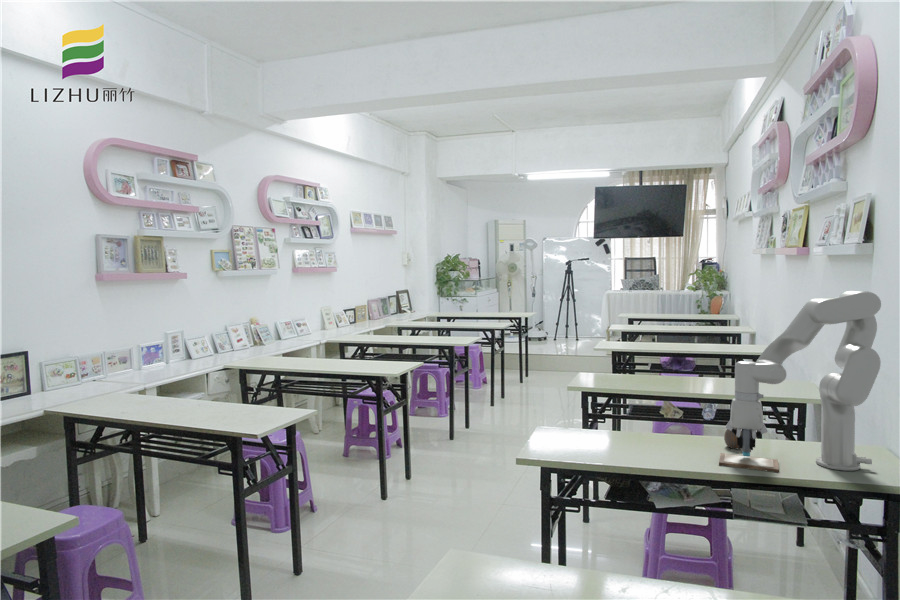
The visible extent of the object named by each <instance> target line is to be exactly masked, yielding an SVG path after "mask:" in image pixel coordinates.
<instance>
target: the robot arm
mask: <svg viewBox="0 0 900 600" xmlns="http://www.w3.org/2000/svg"><path fill="white" fill-rule="evenodd" d="M881 308H882V300H881V298H880V297H879V296H878V295H877V294H875V293H874V292H872V291H869V290H848V291H844V292H843V293H841V294H840V295H839V296H837V297H833V298H832V297H831V298H817V297H816V298H811V299H810V300H808V301H807V302H806V303H805V304H804V305H803V306H802V308H801V309H800V310H799V312H798V313H797V314H796V315H795V317H794V318H793V319H792V321H791V322H790V324H789V325H788V326H787V327H786V329H785V330H784V331H783V332H782V333H781V334H780V335H778V336H777V337H776V338H775V339H774V340H773V341H772V342H771V343H770V344H769V345H768V346H767V347H766V348H765V349H764V350H763V352H762V353H761V354H760V356H759V357H758V359H756V361H753V360H752V361H751V360H750V361H749V360H740V361H739V360H738V361H737V362H735V365H734V398H732V399H731V404H730V405H731V406H730V417H729V418H730V419H729V421H728V422H727V424H726V425H725V428H726V430H727V429H728V430H730V431H732V432H733V433H734V434H735V435H736V436H737V446H739V450H741V449H742V436H741V434H740V433H741V431H742V429H747V430H751V451H753V450H754V448H756V439H758V437H759V436H761V435H764V434H766V433H768V428H767V427H766V425H765V424H764V416H763V405H762V401H761V400H760V399H764V394H761V393H759V392H760V390H759V389H760V384H761V383H762V384H768V385H779V384H781V383H784V381H785V380H786V378H787V371H786V368H784V366H783V365H782V364H783V363H784V362H785V361H786V360H787V359H788V358H789V357H790V356H792V355H793V354H794V353H795V354H796V352H799V351H802V350H804V349H806V348H808V347H809V345H811V343H812V342H813V341H814V339H815V338H816V336H817V335H818V334H819V332H820V331H821V330H822V329H823V327H824V326H825V325H837V324H843V323H845V324H846V326H845V331H844V334H843V336H842V338H841V340H840V343H839V345H838V347H837V349H836V352H835V354H834V361H835V365H836V366H837V367H838V368H840V369H842V370H843V371H842V372H830V373H828V374H826V375H824V376H823V377H822V378H821V379H820V382H819V386H818V387H819V388H818V391H819V397H820V405H821V419H820V420H821V421H820V422H821V428H820V429H821V430H820V431H821V432H820V433H821V436H820V437H821V438H820V440H821V445H820V446H821V447H820V449H821V450H820V452H821V453H820V456H819V457H816V458H815V464H817V465H818V466H821V467H824V468H827V469H832V470H837V471H846V472H847V471H848V472H849V471H858V470H860V469H861V464H864V465H870V466H871V465H872V464H873V459H872V458H868V457H866V456H859V455H857V454H856V452H855V451H856V450H855V449H856V448H855V446H856V445H855V441H856V436H855V435H856V431H855V430H856V412H855V411H856V409H855V407H857V406H858V407H859V406H860V405H862V404H864V403H865V401H866V400H867V399H868V397H869V395H870V394H871V391H872V389H873V386H874V384H875V382H876V379H877V378H878V377H877V376H878V375H879V372H880V369H881V362H882V361H881V357H880V354H879V353H878V352H877V351H876V350H875V349H873V348H872V346H873V344H874V342H875V338H876V336H877V332H878V322H877V319H876V316H875V315H876V314H878V313H879V311H881ZM731 426H732V427H731ZM735 428H737V430H736V429H735Z"/></svg>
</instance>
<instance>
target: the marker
mask: <svg viewBox="0 0 900 600" xmlns="http://www.w3.org/2000/svg"><path fill="white" fill-rule="evenodd" d="M741 431H742V449H740V451H741V452H742V453H741V454H742V456H751V453H752V450H751V436H752V430H747V429H741Z"/></svg>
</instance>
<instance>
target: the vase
mask: <svg viewBox="0 0 900 600" xmlns="http://www.w3.org/2000/svg"><path fill="white" fill-rule="evenodd" d="M731 427H732V426H731ZM735 429H736V430H737V428H735ZM723 434H724V437H723V438H724V443H725V445H726V446H727V448H729V447H731V448H730V449H733V448H739V446H737V436H736V435H735V434H734V433H733V432H732V431H730V430H728V429H727V428H726V430H725V432H724V433H723ZM740 434H741V436H742V430H741V433H740Z"/></svg>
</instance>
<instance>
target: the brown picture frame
mask: <svg viewBox="0 0 900 600" xmlns="http://www.w3.org/2000/svg"><path fill="white" fill-rule="evenodd" d="M722 465H725V466H724V467H730V466H733V467H732V468H738V467H739V469H746V468H749V469H748V470H754V469H758V470H757V471H762V470H767V471H766V472H770V471H774V472H773V473H778V472H780V467H779V459H778V458H777V459H774V458H769V457H767V458H765V457H757V456H751V455H750V456H743V455H740V454H733V453H724V452H723V453H722V452H720V455H719V460H718V466H722Z"/></svg>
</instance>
